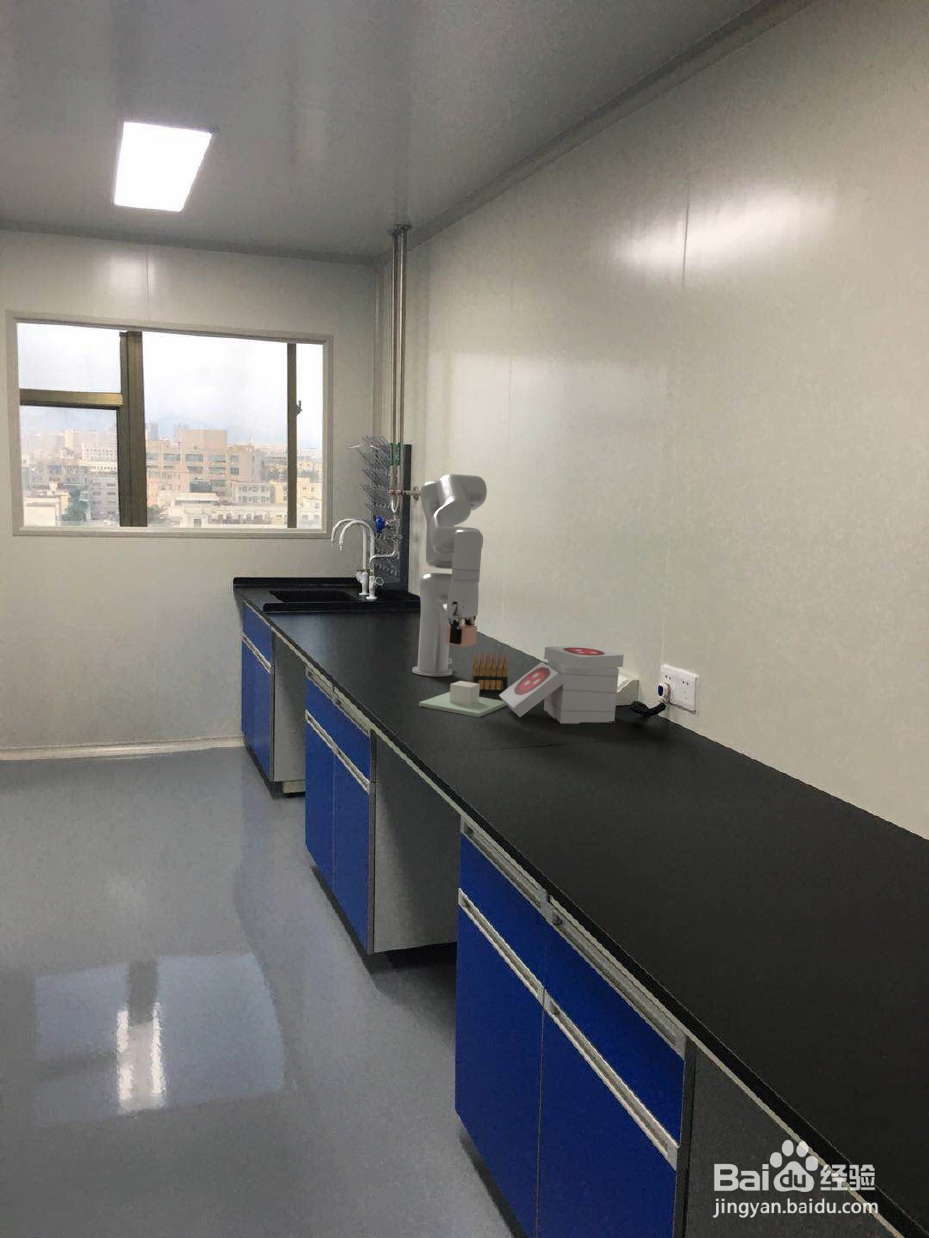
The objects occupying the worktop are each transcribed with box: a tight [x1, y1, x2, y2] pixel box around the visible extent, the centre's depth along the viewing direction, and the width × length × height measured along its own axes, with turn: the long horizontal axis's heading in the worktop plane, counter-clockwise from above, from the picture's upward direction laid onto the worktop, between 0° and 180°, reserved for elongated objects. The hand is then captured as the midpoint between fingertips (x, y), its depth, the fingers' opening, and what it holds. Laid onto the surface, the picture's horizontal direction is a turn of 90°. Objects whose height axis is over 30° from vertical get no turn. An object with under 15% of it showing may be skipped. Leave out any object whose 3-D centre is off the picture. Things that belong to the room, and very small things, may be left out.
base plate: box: [418, 691, 508, 718], centre depth 269 cm, size 18×18×1 cm
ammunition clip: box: [470, 651, 509, 694], centre depth 287 cm, size 11×2×12 cm, turn 101°
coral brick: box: [446, 623, 478, 648], centre depth 266 cm, size 6×6×5 cm
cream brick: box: [449, 680, 480, 706], centre depth 268 cm, size 6×6×5 cm
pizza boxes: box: [498, 644, 625, 724], centre depth 262 cm, size 19×30×18 cm, turn 102°
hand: (461, 641), depth 266 cm, fingers closed on coral brick, 5 cm apart
